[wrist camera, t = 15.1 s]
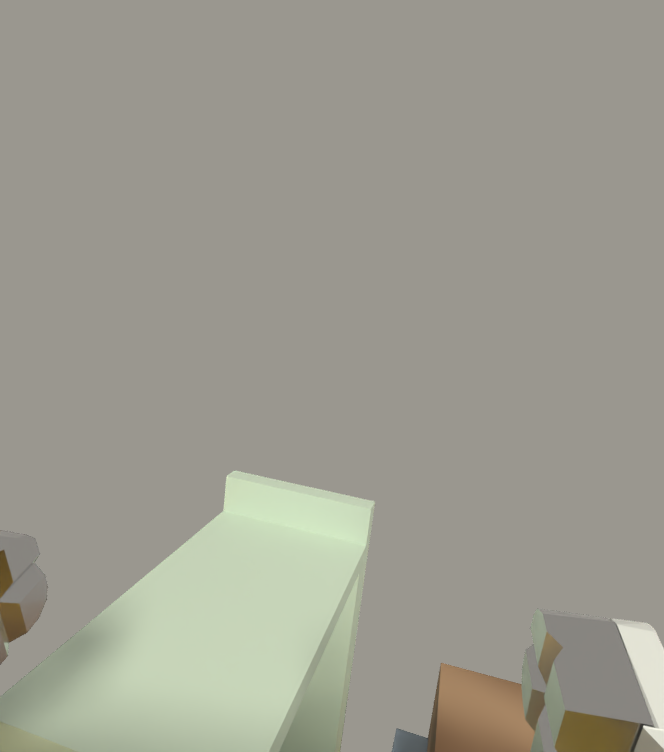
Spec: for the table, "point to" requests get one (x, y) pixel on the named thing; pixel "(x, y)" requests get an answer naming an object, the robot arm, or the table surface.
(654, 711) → the robot arm
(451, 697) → the walnut batten
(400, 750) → the slate-blue block
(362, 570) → the sage shelf
